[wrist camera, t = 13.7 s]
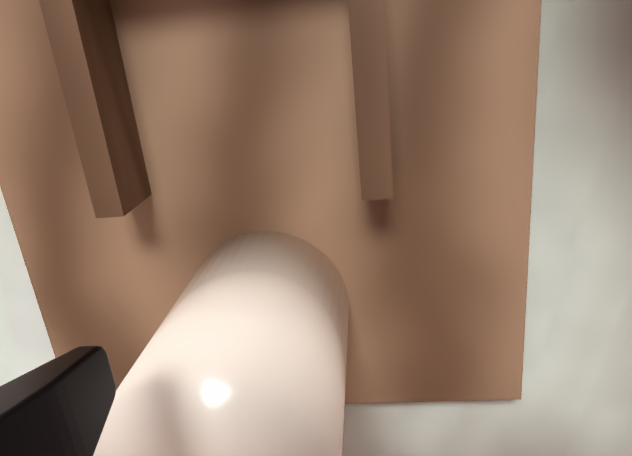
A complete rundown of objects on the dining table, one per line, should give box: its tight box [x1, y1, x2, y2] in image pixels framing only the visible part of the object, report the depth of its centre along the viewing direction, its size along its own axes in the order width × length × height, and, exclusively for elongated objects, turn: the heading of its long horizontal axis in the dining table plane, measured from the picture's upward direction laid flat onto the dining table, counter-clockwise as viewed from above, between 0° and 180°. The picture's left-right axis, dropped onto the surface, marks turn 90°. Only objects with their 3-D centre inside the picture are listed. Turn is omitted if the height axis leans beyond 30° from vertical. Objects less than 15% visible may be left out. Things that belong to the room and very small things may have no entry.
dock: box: [0, 0, 541, 403], centre depth 19 cm, size 20×20×4 cm
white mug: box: [93, 231, 349, 456], centre depth 18 cm, size 10×6×9 cm, turn 6°
